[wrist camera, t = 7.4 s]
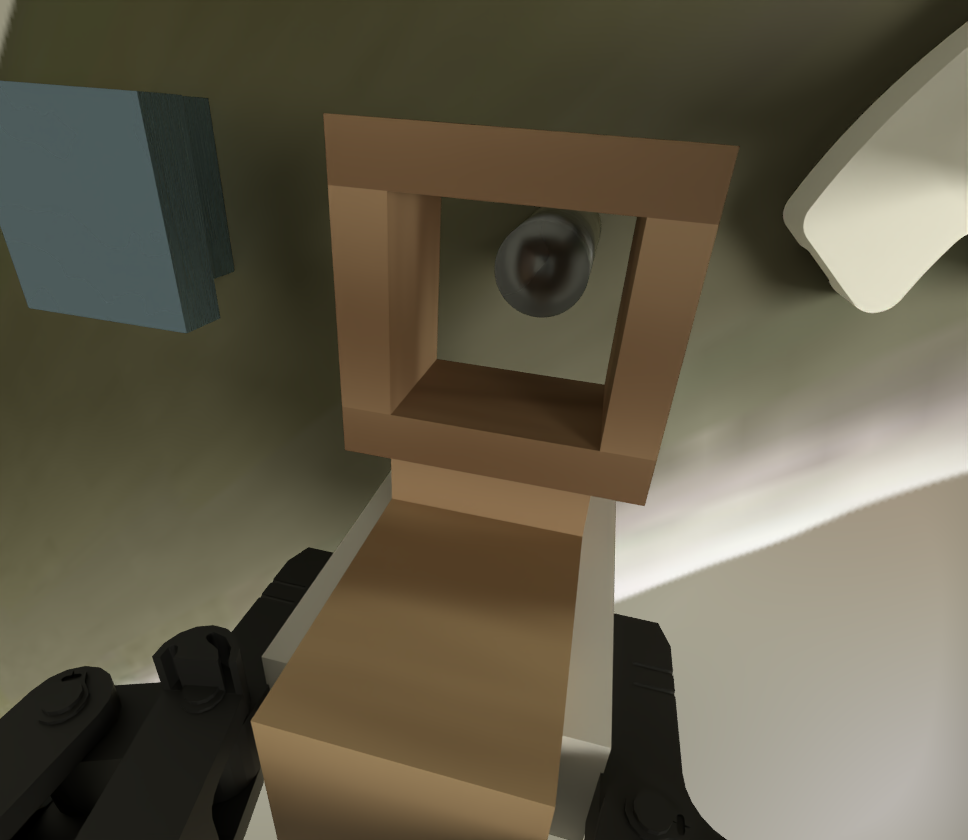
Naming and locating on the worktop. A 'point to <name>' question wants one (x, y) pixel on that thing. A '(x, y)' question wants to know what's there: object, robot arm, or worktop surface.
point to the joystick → (892, 184)
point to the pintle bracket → (179, 212)
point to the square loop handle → (473, 483)
